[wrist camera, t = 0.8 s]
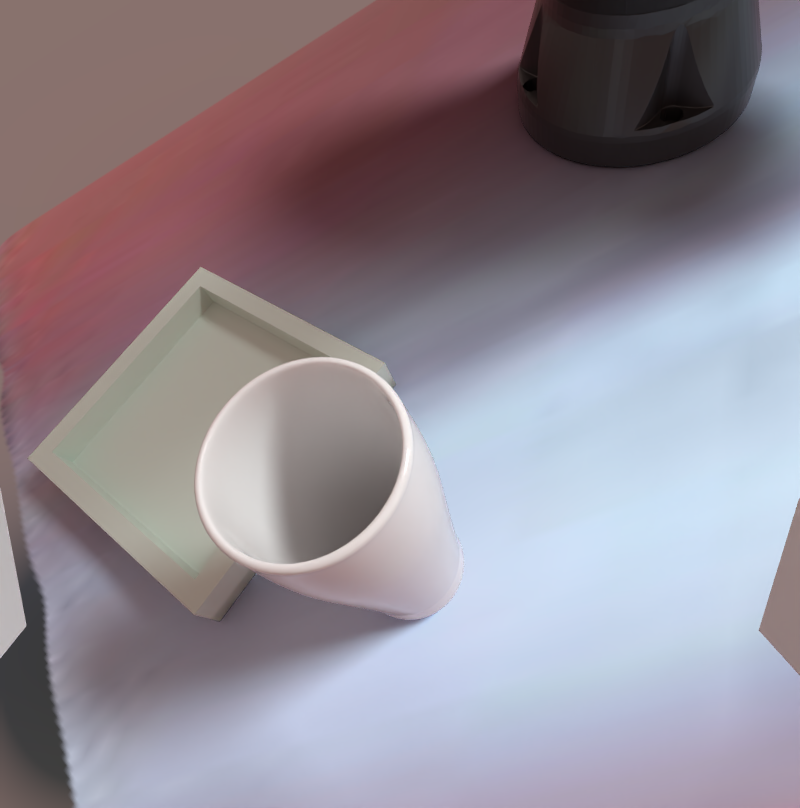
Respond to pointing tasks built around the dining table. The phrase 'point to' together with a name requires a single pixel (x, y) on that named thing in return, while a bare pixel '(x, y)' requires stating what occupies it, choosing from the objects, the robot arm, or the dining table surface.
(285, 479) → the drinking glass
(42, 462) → the tray
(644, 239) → the dining table surface
